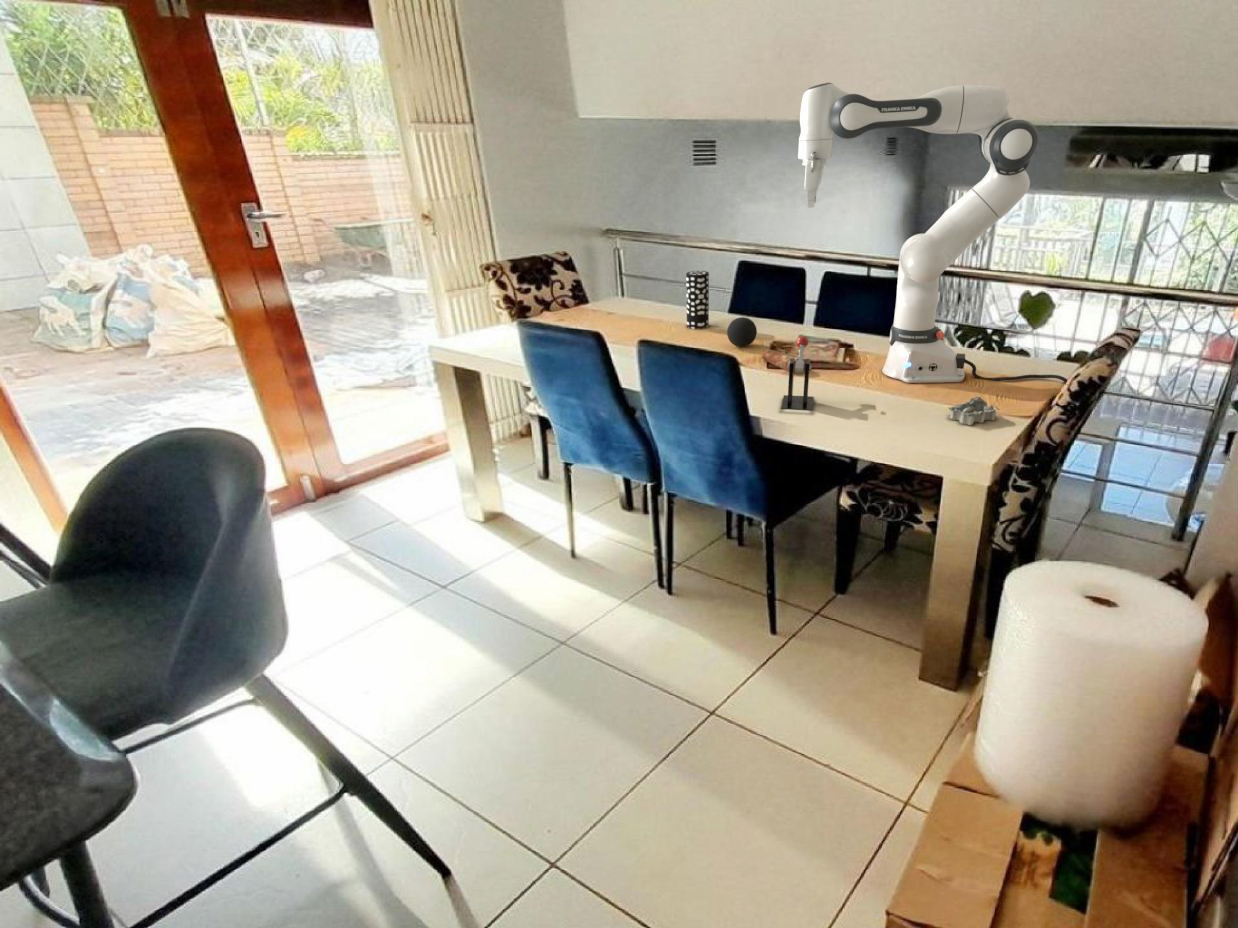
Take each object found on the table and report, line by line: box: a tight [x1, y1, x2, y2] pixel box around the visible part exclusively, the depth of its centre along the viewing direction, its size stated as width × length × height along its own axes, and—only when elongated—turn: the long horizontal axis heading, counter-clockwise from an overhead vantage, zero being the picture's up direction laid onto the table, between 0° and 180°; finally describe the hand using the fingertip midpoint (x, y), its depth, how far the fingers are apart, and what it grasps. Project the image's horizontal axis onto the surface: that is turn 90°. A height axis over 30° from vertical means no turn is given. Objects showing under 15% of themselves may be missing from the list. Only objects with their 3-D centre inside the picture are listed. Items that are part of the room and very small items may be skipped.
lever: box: [794, 335, 810, 375], centre depth 188 cm, size 13×3×3 cm, turn 162°
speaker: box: [726, 316, 758, 348], centre depth 240 cm, size 10×10×10 cm
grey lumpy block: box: [947, 395, 1000, 426], centre depth 176 cm, size 11×8×4 cm
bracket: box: [780, 358, 815, 412], centre depth 187 cm, size 10×8×13 cm
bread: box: [761, 349, 806, 375], centre depth 218 cm, size 6×19×6 cm, turn 20°
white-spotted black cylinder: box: [685, 270, 710, 330], centre depth 265 cm, size 8×8×20 cm
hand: (811, 205), depth 197 cm, fingers open, 8 cm apart
